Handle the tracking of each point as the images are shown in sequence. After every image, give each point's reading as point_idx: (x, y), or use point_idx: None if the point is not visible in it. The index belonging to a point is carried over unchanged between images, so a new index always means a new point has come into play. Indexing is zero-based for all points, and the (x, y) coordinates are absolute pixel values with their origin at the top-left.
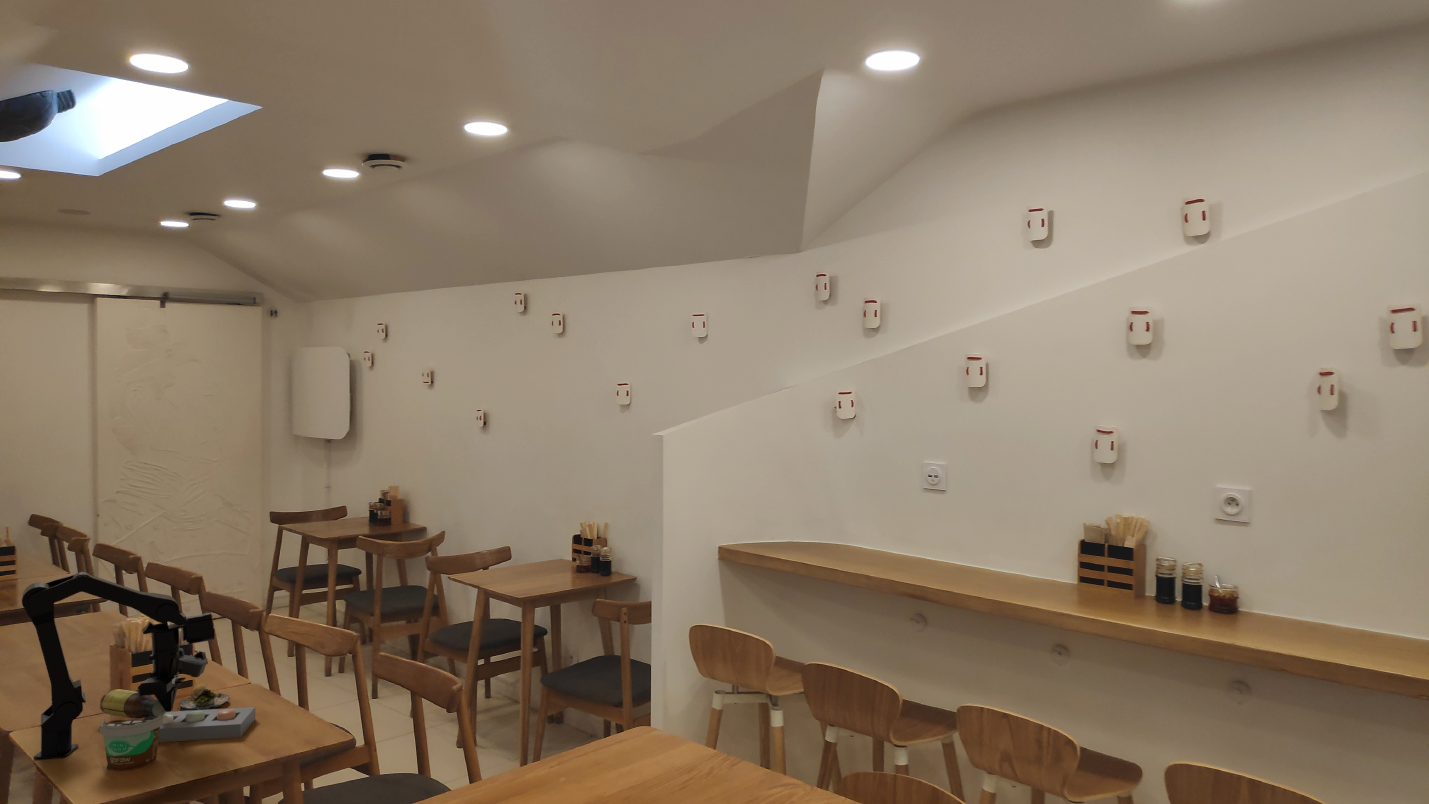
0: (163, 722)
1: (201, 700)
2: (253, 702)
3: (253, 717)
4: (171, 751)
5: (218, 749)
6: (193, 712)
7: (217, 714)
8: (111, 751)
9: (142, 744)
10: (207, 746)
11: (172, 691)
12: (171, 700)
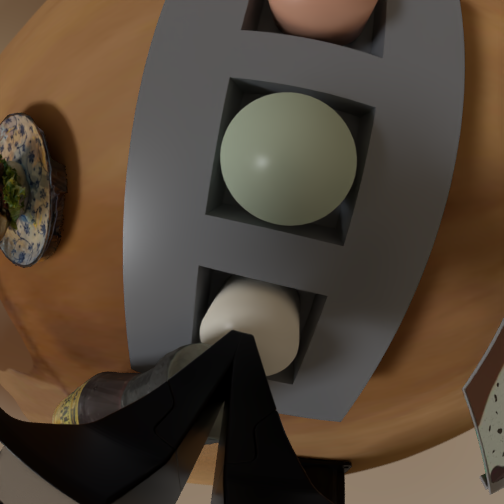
0: (298, 331)
1: (19, 194)
2: (40, 42)
3: None
4: (493, 242)
5: None
6: (251, 174)
7: (352, 16)
8: None
9: None
10: (497, 114)
11: (282, 483)
12: (268, 398)
